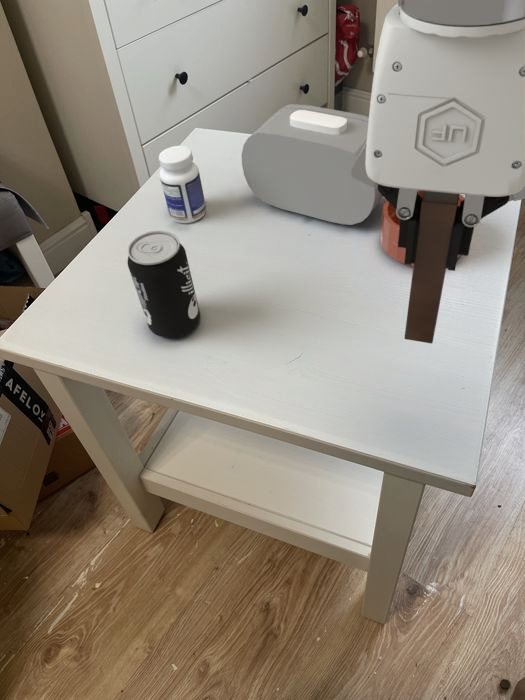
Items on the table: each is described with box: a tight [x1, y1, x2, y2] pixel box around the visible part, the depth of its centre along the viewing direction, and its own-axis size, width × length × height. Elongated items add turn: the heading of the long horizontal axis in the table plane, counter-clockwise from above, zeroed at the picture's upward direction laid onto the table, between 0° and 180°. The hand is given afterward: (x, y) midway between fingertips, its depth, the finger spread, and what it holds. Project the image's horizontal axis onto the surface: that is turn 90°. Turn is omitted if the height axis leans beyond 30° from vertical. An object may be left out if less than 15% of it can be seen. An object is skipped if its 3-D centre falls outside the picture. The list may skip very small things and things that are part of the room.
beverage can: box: [127, 230, 201, 339], centre depth 66 cm, size 7×7×12 cm
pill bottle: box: [158, 145, 207, 224], centre depth 83 cm, size 6×6×10 cm
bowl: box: [379, 190, 465, 268], centre depth 75 cm, size 11×11×6 cm
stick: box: [404, 191, 461, 344], centre depth 45 cm, size 2×2×14 cm
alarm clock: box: [241, 103, 384, 226], centre depth 80 cm, size 21×10×13 cm, turn 60°
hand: (432, 254), depth 43 cm, fingers closed on stick, 2 cm apart
